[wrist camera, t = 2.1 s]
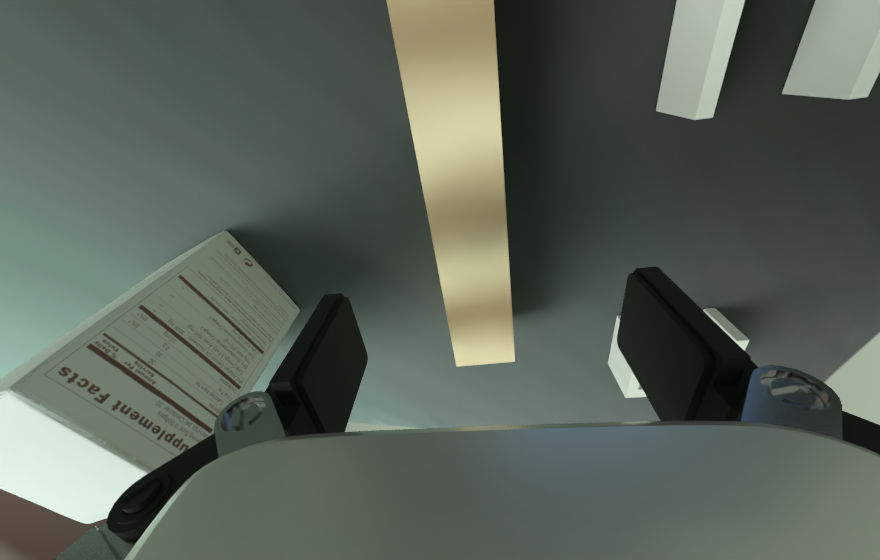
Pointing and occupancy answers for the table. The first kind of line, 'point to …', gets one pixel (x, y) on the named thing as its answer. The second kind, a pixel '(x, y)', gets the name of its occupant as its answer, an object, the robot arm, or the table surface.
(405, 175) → the table surface
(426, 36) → the slat
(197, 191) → the table surface
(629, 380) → the end cap
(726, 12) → the end cap
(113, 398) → the supplement box
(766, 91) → the table surface
